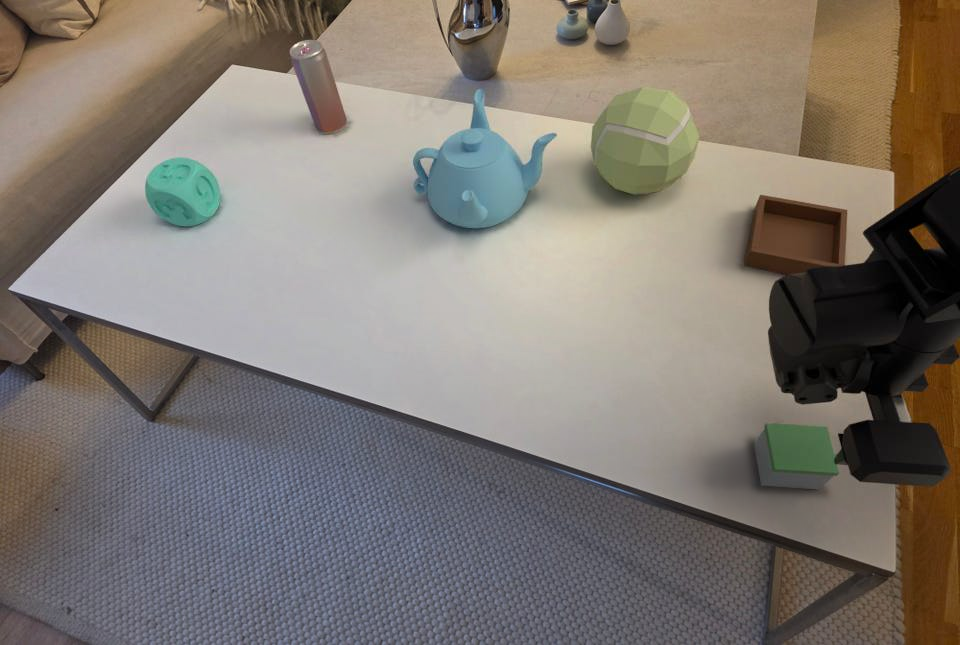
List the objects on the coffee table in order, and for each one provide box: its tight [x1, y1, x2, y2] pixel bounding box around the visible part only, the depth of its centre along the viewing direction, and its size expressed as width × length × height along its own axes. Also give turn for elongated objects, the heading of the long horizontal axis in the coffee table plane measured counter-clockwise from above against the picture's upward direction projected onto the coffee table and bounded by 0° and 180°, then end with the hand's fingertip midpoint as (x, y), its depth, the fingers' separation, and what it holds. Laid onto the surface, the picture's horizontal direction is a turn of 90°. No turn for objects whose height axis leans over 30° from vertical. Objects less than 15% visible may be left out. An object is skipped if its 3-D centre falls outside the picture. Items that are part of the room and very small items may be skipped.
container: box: [753, 422, 840, 490], centre depth 63 cm, size 6×5×5 cm
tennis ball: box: [590, 86, 700, 196], centre depth 88 cm, size 15×15×15 cm
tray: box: [744, 194, 848, 275], centre depth 82 cm, size 12×12×3 cm
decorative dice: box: [144, 156, 221, 227], centre depth 96 cm, size 8×8×8 cm
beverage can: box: [289, 39, 347, 135], centre depth 104 cm, size 6×6×15 cm
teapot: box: [412, 88, 558, 229], centre depth 89 cm, size 17×19×12 cm
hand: (827, 416), depth 56 cm, fingers open, 9 cm apart
